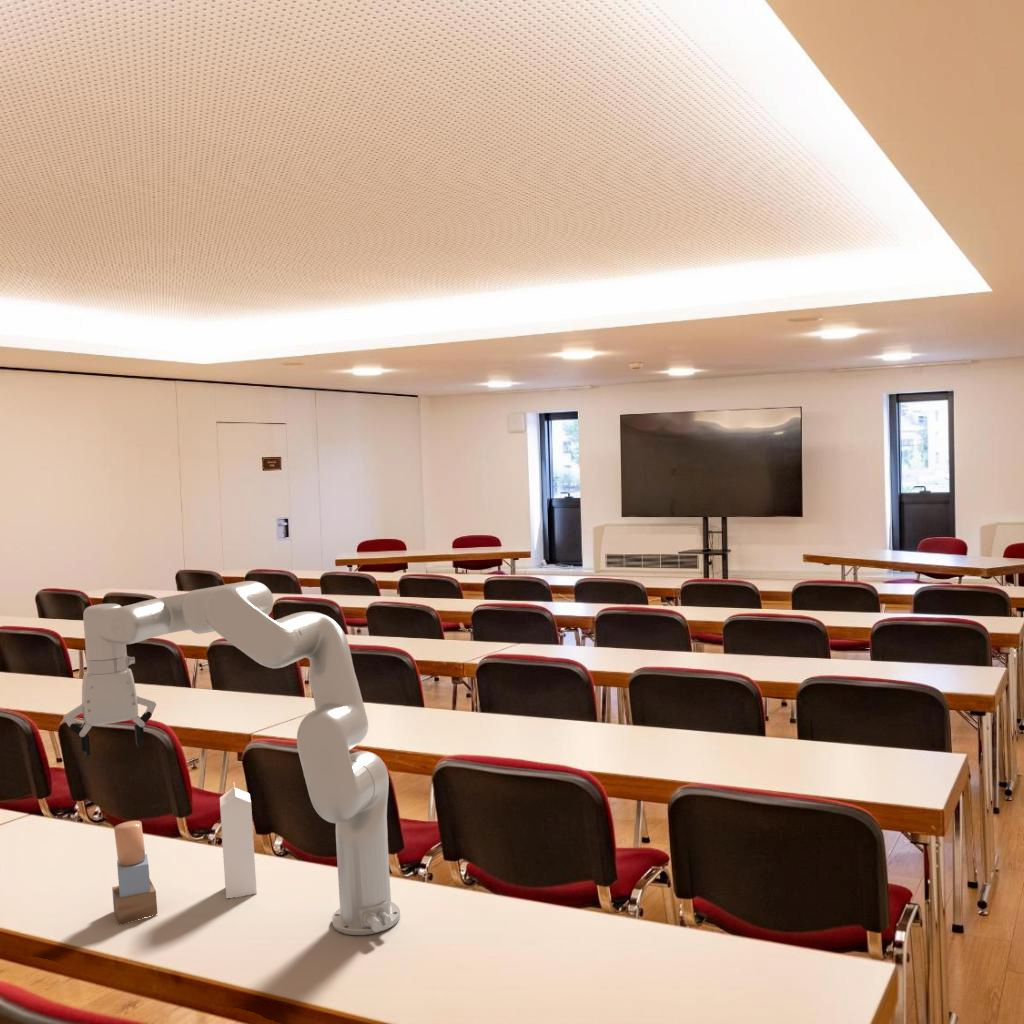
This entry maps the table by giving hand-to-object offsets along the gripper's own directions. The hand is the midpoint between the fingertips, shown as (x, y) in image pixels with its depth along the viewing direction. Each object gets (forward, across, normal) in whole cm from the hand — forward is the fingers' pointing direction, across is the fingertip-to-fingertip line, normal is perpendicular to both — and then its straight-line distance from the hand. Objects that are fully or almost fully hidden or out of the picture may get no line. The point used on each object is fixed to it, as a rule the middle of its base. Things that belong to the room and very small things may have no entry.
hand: (113, 750), depth 200 cm
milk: (+31, -21, +11) cm, 39 cm away
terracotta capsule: (+20, -1, +9) cm, 22 cm away
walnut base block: (+31, -1, +9) cm, 32 cm away
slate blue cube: (+26, -1, +10) cm, 27 cm away
